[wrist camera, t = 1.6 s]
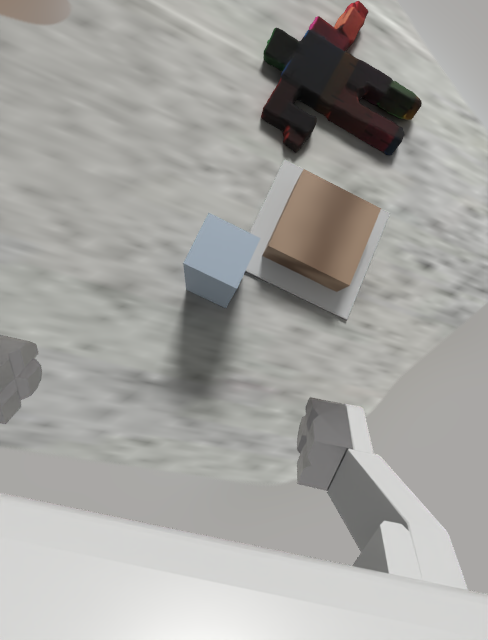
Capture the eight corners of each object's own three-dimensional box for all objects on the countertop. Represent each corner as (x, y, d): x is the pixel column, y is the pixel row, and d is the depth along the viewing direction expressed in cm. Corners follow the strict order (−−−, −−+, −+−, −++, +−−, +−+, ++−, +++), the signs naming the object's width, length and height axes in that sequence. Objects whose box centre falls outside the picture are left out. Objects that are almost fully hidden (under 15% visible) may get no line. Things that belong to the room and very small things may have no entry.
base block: (262, 255, 34) (268, 245, 31) (294, 185, 35) (303, 168, 32) (336, 292, 35) (349, 285, 32) (365, 221, 36) (381, 208, 33)
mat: (233, 265, 34) (234, 265, 34) (283, 160, 36) (284, 159, 36) (346, 319, 35) (347, 319, 35) (388, 214, 37) (390, 213, 36)
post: (186, 289, 33) (183, 263, 24) (204, 251, 34) (208, 212, 25) (225, 308, 33) (236, 288, 25) (243, 270, 34) (260, 238, 25)
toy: (351, 13, 39) (364, -14, 36) (425, 140, 39) (443, 122, 36) (229, 63, 37) (232, 38, 34) (306, 199, 36) (316, 186, 33)
